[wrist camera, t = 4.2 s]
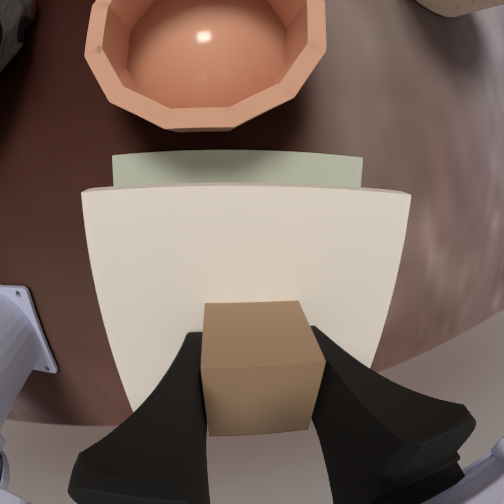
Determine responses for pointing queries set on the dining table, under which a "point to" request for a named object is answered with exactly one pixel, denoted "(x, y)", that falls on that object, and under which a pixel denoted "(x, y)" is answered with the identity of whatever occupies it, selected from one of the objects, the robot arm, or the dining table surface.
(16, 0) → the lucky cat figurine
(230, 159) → the mat
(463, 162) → the dining table surface
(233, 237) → the cover plate
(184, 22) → the bowl
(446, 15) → the teacup with lid
